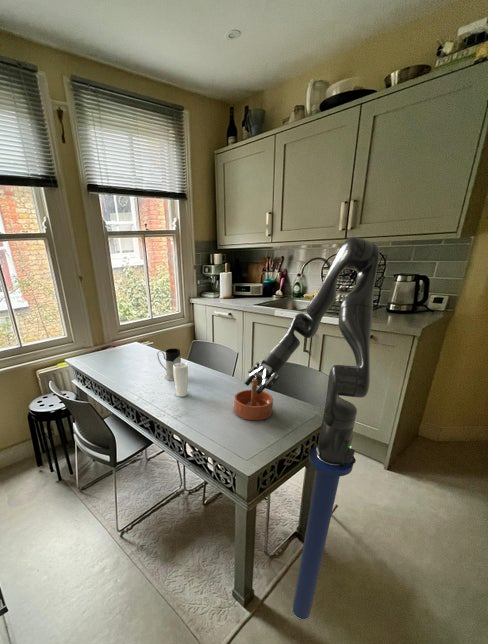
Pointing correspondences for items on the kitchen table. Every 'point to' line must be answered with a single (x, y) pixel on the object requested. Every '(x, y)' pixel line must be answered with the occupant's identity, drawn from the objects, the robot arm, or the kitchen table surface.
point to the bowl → (252, 411)
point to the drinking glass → (180, 378)
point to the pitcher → (171, 361)
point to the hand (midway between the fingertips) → (251, 388)
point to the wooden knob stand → (253, 394)
